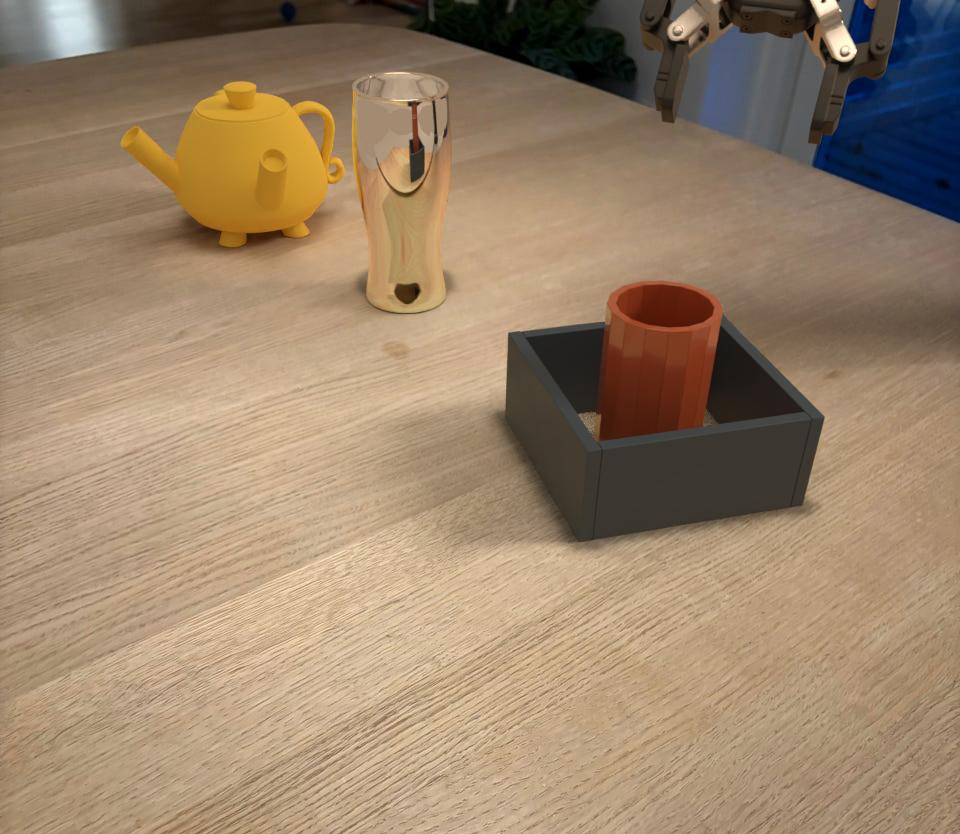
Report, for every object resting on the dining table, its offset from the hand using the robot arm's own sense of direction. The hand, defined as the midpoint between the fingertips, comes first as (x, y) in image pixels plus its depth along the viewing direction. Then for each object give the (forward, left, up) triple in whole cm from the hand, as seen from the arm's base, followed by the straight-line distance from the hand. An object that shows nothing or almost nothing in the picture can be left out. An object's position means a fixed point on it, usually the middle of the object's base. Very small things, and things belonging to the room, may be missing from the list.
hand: (740, 126), depth 64 cm
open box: (+6, +10, -17) cm, 20 cm away
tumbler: (+6, +9, -16) cm, 20 cm away
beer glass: (+18, -16, -17) cm, 30 cm away
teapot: (+30, -30, -17) cm, 46 cm away
